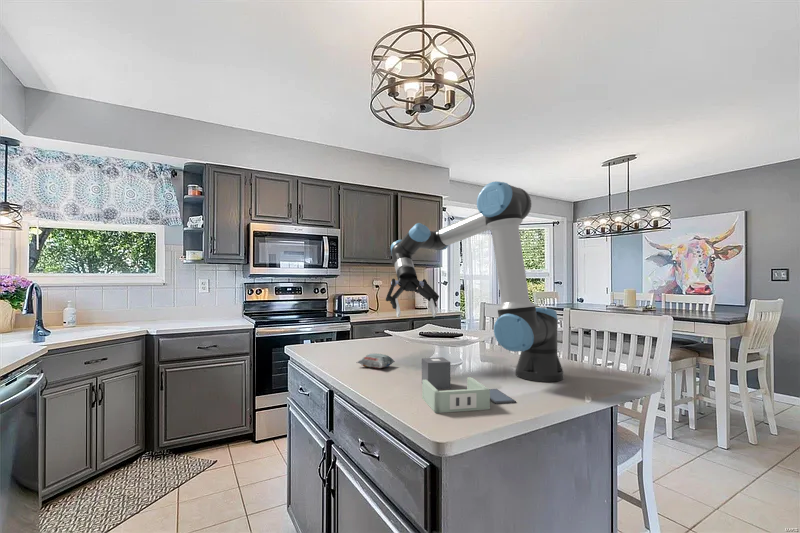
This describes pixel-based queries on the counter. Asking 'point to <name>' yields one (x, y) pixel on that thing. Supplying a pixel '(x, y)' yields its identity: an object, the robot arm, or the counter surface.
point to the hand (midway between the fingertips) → (417, 315)
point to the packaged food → (376, 361)
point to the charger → (436, 372)
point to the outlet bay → (457, 397)
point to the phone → (500, 397)
